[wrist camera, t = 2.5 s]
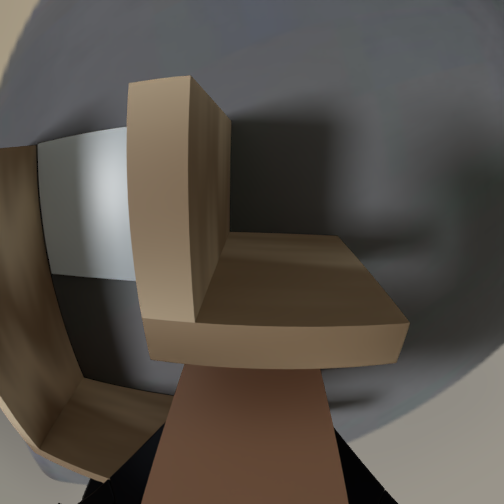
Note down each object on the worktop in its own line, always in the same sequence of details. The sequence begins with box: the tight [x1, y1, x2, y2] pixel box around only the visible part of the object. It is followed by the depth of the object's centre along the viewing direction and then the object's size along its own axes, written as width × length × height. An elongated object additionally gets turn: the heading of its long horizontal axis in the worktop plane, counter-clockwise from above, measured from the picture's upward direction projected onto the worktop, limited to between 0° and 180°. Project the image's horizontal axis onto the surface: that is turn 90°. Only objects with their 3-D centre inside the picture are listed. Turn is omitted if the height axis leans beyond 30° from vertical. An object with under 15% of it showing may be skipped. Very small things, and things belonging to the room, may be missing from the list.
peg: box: [141, 364, 349, 504], centre depth 7 cm, size 4×4×10 cm
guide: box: [0, 76, 410, 483], centre depth 9 cm, size 14×14×6 cm
